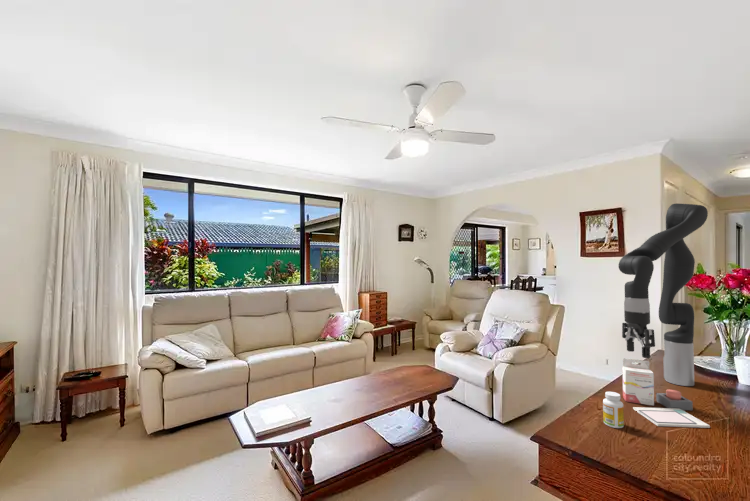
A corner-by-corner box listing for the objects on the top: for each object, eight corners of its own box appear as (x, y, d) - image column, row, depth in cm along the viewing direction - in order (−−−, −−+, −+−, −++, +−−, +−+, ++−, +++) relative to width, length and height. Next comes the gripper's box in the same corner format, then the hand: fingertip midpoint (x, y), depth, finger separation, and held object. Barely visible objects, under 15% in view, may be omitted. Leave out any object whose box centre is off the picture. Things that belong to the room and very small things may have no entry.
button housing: (656, 401, 126) (656, 393, 126) (677, 401, 126) (676, 393, 126) (670, 409, 119) (670, 400, 119) (692, 410, 119) (692, 401, 119)
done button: (663, 397, 125) (663, 389, 125) (675, 397, 124) (675, 389, 124) (672, 402, 121) (671, 393, 121) (684, 402, 120) (684, 393, 120)
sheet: (633, 409, 120) (632, 406, 120) (679, 410, 119) (679, 407, 119) (657, 426, 108) (657, 423, 108) (709, 427, 107) (709, 424, 107)
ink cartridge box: (625, 402, 126) (624, 361, 126) (622, 397, 131) (621, 357, 131) (654, 406, 122) (653, 364, 123) (650, 400, 127) (649, 360, 127)
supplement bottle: (620, 421, 111) (619, 391, 111) (626, 429, 106) (625, 398, 106) (601, 419, 113) (600, 389, 113) (606, 427, 108) (605, 395, 108)
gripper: (614, 307, 134) (615, 349, 134) (638, 313, 120) (640, 359, 120) (635, 307, 134) (636, 349, 133) (662, 313, 119) (663, 360, 119)
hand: (638, 354), depth 126 cm, fingers open, 8 cm apart
